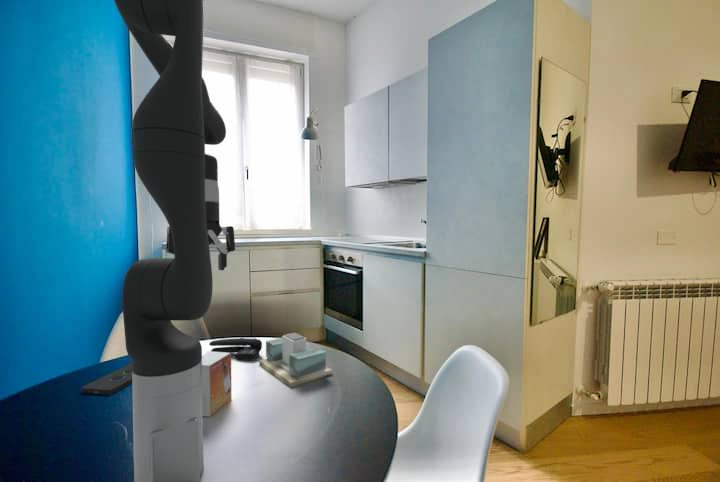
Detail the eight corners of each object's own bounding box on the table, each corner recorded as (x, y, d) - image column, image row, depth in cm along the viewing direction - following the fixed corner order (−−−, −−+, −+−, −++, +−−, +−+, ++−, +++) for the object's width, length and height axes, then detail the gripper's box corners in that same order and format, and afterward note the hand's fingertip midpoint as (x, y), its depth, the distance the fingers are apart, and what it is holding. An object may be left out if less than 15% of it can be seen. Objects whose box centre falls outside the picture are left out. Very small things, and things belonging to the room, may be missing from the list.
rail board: (332, 374, 90) (331, 350, 90) (290, 387, 82) (290, 361, 82) (297, 354, 104) (297, 334, 104) (259, 364, 96) (259, 342, 96)
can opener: (267, 354, 105) (267, 336, 105) (253, 362, 98) (253, 343, 98) (218, 348, 110) (218, 331, 110) (202, 356, 104) (202, 337, 103)
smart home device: (79, 387, 80) (144, 356, 100) (79, 394, 80) (144, 362, 100) (111, 389, 79) (170, 357, 99) (111, 396, 79) (171, 363, 99)
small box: (210, 418, 69) (209, 366, 69) (185, 415, 70) (184, 363, 70) (232, 398, 77) (232, 352, 77) (210, 396, 78) (209, 350, 78)
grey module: (295, 357, 97) (295, 331, 96) (306, 364, 92) (306, 337, 92) (282, 361, 94) (282, 334, 94) (293, 368, 89) (292, 340, 89)
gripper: (170, 197, 72) (171, 275, 72) (238, 201, 81) (239, 270, 81) (162, 200, 77) (164, 272, 78) (227, 203, 86) (228, 267, 87)
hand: (202, 271), depth 79 cm, fingers open, 8 cm apart
